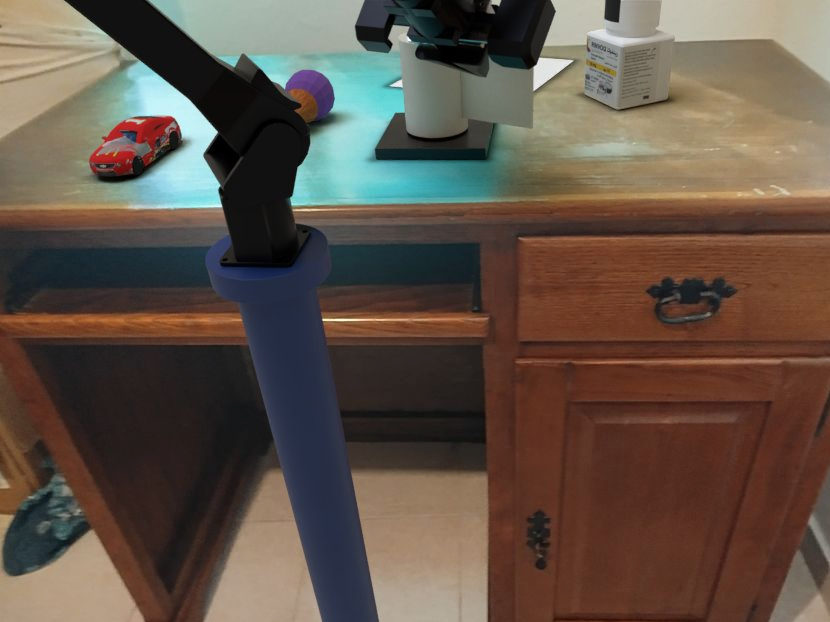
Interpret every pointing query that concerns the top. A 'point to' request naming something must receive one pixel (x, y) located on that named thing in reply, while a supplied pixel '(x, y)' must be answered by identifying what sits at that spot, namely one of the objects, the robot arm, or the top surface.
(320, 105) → the kendama
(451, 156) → the holder
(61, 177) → the top surface
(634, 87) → the container
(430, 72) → the towel roll
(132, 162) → the race car
